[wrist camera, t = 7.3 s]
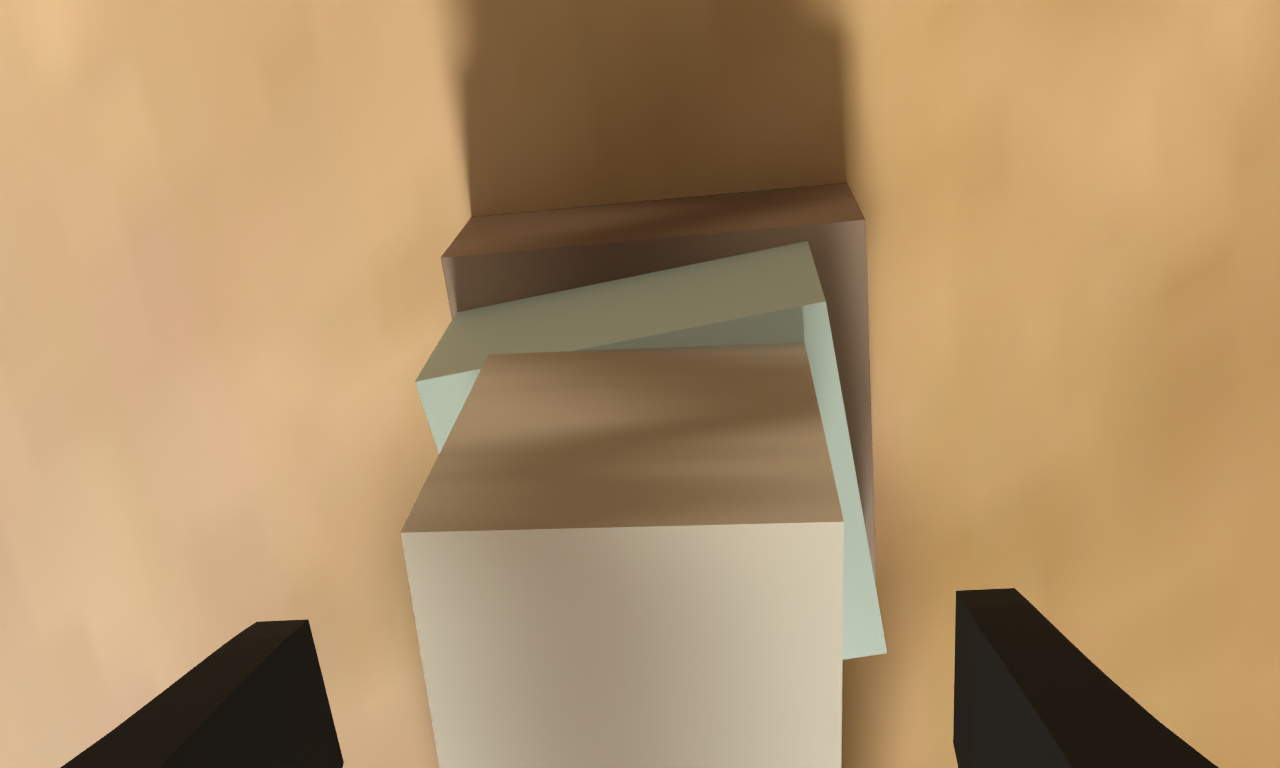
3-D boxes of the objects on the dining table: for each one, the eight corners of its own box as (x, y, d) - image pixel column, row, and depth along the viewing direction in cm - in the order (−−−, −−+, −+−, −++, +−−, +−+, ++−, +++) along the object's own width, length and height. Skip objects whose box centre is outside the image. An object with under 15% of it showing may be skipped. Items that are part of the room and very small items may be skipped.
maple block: (805, 342, 16) (843, 521, 11) (806, 612, 18) (840, 862, 13) (488, 354, 16) (401, 533, 12) (520, 617, 18) (455, 863, 13)
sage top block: (807, 240, 18) (826, 301, 16) (862, 551, 21) (887, 652, 18) (456, 312, 19) (414, 381, 16) (546, 604, 21) (523, 708, 19)
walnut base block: (844, 177, 21) (864, 219, 18) (856, 507, 24) (876, 587, 21) (474, 212, 21) (440, 257, 19) (528, 528, 24) (504, 609, 21)
